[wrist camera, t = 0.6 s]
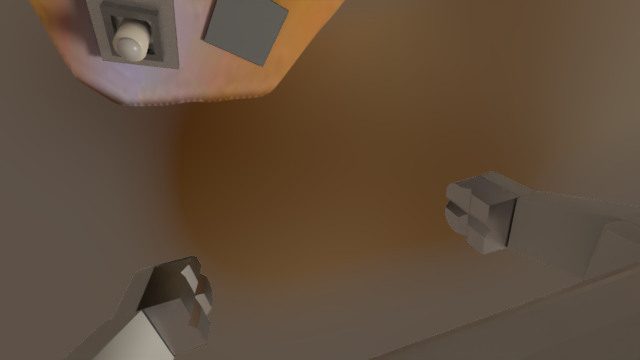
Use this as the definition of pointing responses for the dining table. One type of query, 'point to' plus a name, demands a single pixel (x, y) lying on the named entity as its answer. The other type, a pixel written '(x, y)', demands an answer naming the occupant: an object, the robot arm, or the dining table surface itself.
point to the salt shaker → (132, 39)
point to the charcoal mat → (246, 27)
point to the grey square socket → (155, 11)
